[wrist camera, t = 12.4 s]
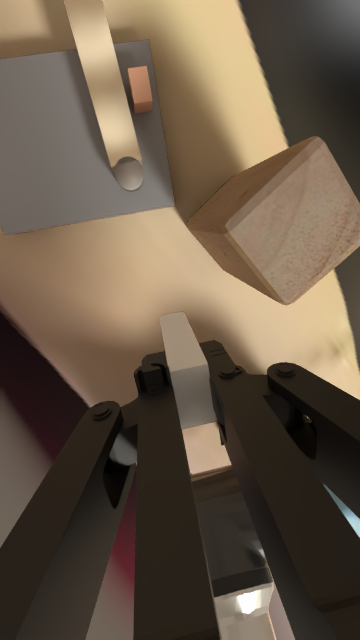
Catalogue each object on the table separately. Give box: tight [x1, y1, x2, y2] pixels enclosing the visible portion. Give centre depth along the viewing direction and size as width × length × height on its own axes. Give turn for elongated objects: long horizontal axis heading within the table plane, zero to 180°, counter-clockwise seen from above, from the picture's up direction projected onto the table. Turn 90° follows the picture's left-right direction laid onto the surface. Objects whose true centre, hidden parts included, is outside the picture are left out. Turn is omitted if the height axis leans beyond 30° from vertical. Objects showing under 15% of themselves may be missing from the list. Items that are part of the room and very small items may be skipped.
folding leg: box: [63, 0, 143, 192], centre depth 30 cm, size 17×4×4 cm, turn 13°
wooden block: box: [187, 136, 360, 305], centre depth 31 cm, size 10×10×20 cm
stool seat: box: [0, 39, 175, 235], centre depth 32 cm, size 17×22×6 cm
